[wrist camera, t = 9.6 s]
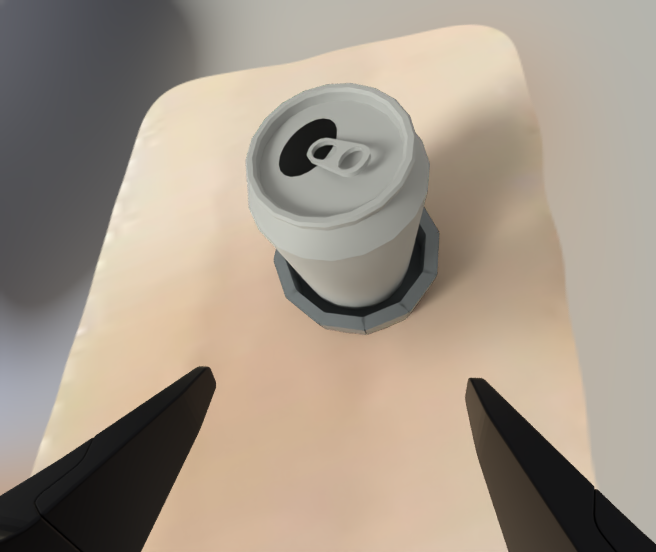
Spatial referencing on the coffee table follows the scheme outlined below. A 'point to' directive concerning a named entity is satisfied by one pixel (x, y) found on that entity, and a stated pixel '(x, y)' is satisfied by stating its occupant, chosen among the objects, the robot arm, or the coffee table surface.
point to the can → (340, 190)
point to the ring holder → (383, 313)
